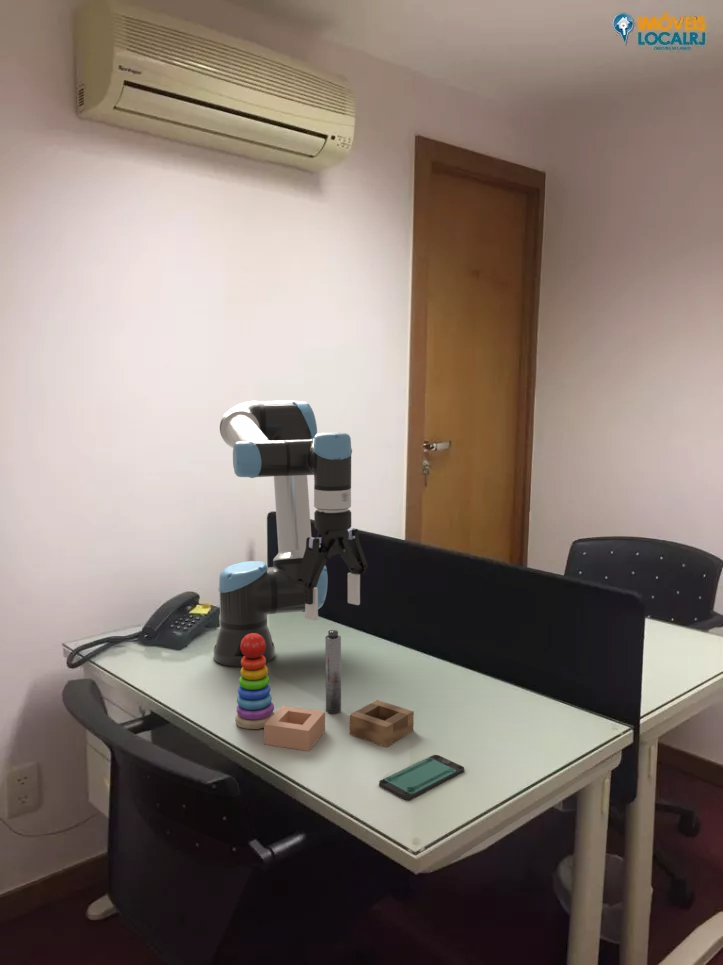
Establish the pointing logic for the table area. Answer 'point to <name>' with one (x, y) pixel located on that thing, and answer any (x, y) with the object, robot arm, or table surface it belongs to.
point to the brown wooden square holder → (381, 723)
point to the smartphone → (421, 777)
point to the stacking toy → (253, 685)
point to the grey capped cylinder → (333, 672)
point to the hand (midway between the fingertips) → (333, 611)
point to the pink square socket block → (294, 728)
